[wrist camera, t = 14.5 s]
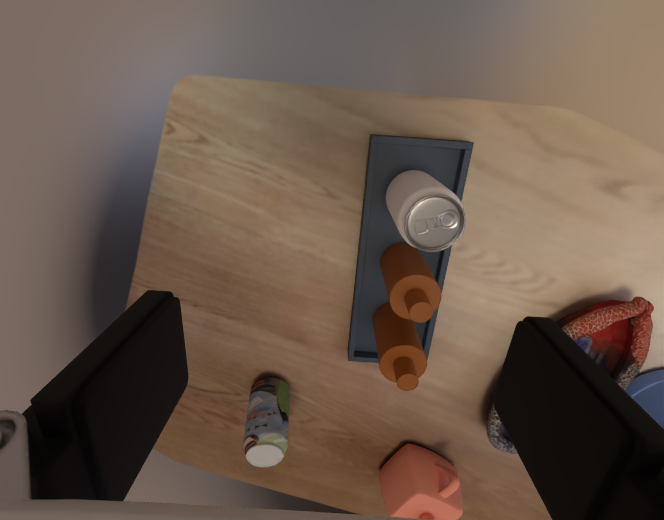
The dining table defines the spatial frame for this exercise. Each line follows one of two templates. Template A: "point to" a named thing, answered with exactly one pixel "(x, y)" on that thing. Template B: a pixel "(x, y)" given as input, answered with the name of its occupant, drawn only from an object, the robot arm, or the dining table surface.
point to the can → (425, 211)
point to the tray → (381, 232)
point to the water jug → (649, 394)
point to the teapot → (420, 485)
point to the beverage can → (267, 422)
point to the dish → (599, 348)
